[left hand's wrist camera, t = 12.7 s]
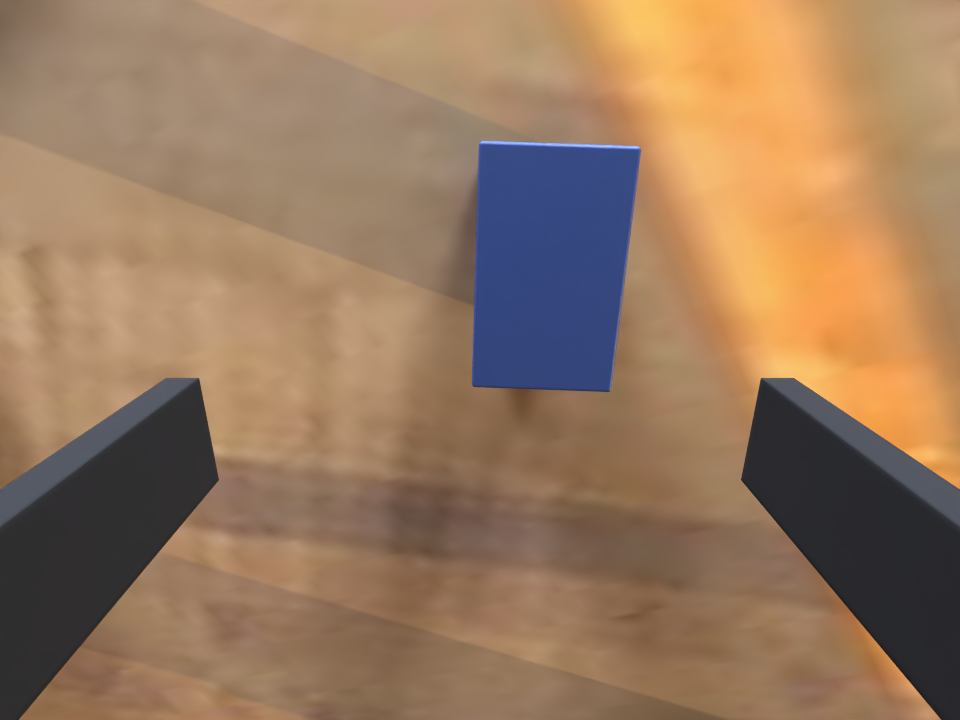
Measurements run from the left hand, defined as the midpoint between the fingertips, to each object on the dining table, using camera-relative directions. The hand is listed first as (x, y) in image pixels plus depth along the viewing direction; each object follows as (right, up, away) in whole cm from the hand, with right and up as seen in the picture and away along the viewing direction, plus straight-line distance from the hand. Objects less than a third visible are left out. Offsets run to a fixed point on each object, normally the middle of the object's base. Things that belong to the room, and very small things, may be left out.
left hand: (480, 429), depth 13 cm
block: (+2, +7, +12) cm, 14 cm away
